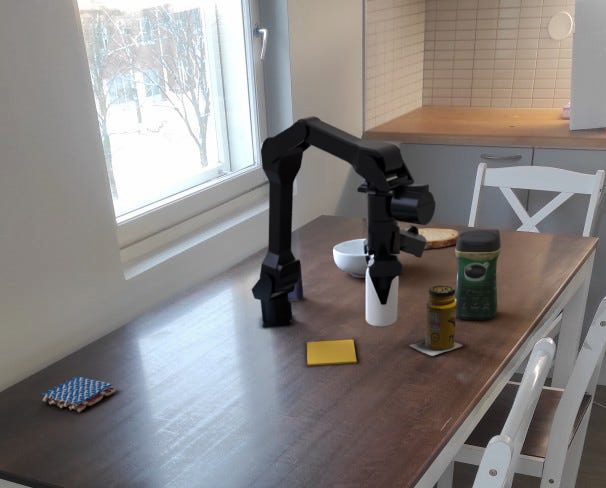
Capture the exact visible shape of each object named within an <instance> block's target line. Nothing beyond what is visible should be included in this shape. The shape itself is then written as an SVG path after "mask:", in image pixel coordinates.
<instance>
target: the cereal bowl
mask: <svg viewBox="0 0 606 488" xmlns="http://www.w3.org/2000/svg"><path fill="white" fill-rule="evenodd" d="M365 239H366V238H358V239H351V240H346V241H342V242H339V243H337V244H336V245H334V246H333V249H332V252H333V254H332V255H333V260H334V263H335V265H336V266H337V267H338V268H339V270H341V271H343V272H344V273H347V274H350V275H351V276H352V277H354V278H359V279H366V271H367V268H368V265H367V263H366V259H365V256H367V255H368V252H367V254H364V244H363V241H364V240H365ZM394 255H396V256H397V257H398V258H399V254H394Z"/></svg>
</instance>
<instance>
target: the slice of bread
mask: <svg viewBox="0 0 606 488" xmlns="http://www.w3.org/2000/svg"><path fill="white" fill-rule="evenodd" d="M400 229H402V230H403V229H404V228H403V227H401V228H400ZM418 232H419V235H420V234H422V235H423V236H424V237H425V238H426V240H427V243H426V246H425V249H424V250H429V249H441V248H446V247H451V246H455V245H456V244H457V239H458V235H459V233H460V231H458V230H455V229H452V228H451V229H449V228H435V227H434V228H431V227H430V228H429V227H427V228H426V227H424V228H418Z"/></svg>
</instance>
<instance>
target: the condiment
mask: <svg viewBox="0 0 606 488" xmlns="http://www.w3.org/2000/svg"><path fill="white" fill-rule="evenodd" d="M455 292H456V288H454V287H453V286H452V285H446V284H439V285H434V286H431V287H430V288H429V290H428V296H427V298H428V300H427V301H426V303H425V304H426V305H425V306H426V307H425V339H424V340H421V341H419V342H416V343H412V344H409V346H410V347H412V348H413V349H415V350H417V351H419V352H421V353H423V354H426V355H429V356H431V357H434V356H436V355H439V354H442V353H445V352H449V351H450V352H451V351H452V350H455V349H458V348H461V347H463V346H464V345H463V344H461V343H458V342H455V340H456V322H457V321H456V320H457V319H456V318H457V317H456V301H455Z"/></svg>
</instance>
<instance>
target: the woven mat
mask: <svg viewBox="0 0 606 488" xmlns="http://www.w3.org/2000/svg"><path fill="white" fill-rule="evenodd" d="M59 385H60V386H53V388H54V389H48V390H47V391H48V392H42V393H41V396H43V397H42V402H44V403H48V404H49V405H50V406H51V405H56V406H57V407H59V408H60V409H63V408H69V410H70V411H72V410H75V411H77V412H78V413H81V412H82V411H83V410H84V409H85V408H87V407H88V406H89V407H90V406H93V405H95V404H96V403H99V402H100V401H101V400H102V399H103V398H105V397H108V396H111V395H113V394H115V392H116V389H115V388H114V387H113V384H112V383H108V382H105V381H104V382H103V381H102V380H96V379H91V378H86V377H83V376H82V377H81V376H77V377H71V380H70V379H69V380H66V381H65V383H59Z"/></svg>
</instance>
